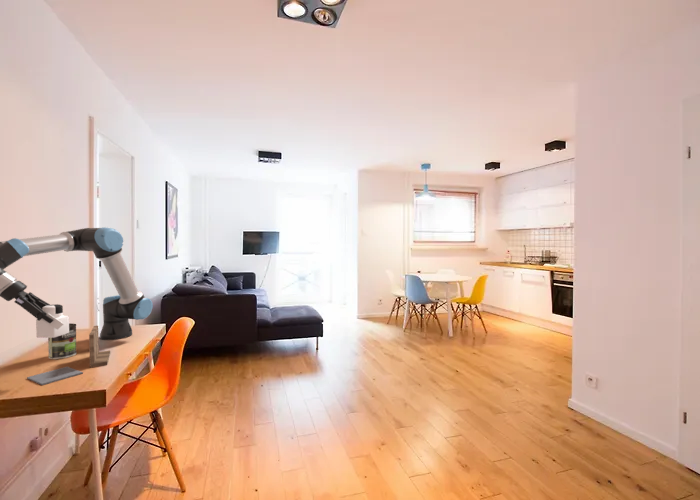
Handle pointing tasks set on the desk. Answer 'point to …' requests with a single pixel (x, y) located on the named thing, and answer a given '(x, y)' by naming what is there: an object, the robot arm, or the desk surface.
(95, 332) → the walnut backboard
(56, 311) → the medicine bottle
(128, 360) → the desk surface
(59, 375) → the charcoal mat
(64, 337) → the coffee can
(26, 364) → the desk surface
